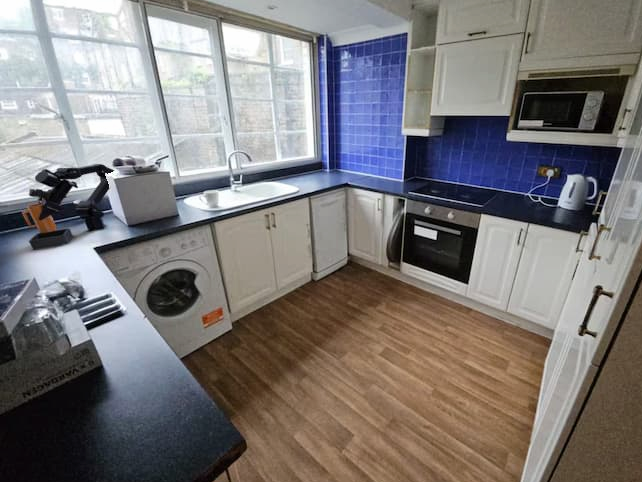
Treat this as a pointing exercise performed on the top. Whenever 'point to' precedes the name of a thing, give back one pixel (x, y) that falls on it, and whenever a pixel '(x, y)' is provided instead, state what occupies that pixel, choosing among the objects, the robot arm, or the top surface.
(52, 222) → the tall orange mug
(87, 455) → the top surface
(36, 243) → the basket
